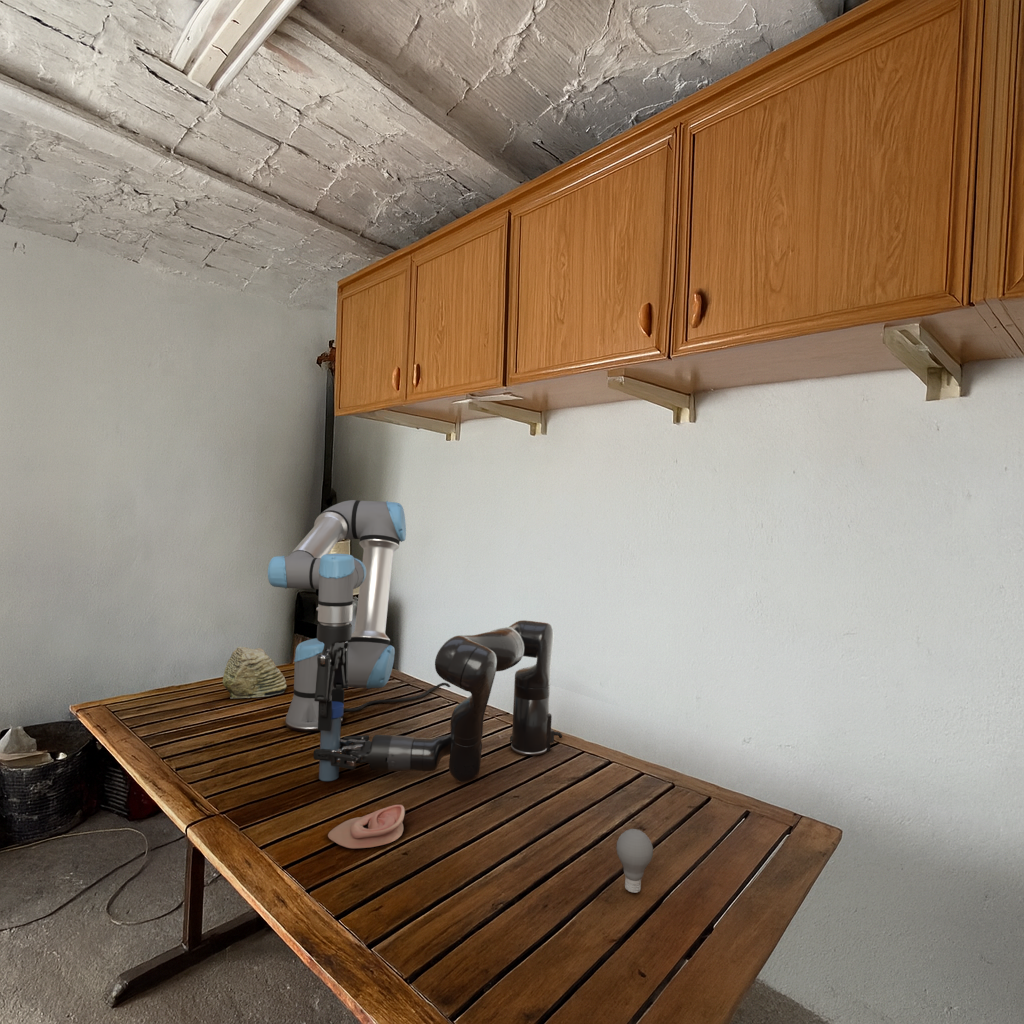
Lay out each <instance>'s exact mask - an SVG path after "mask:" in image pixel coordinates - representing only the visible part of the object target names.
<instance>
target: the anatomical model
mask: <svg viewBox="0 0 1024 1024" xmlns="http://www.w3.org/2000/svg"><path fill="white" fill-rule="evenodd" d="M405 814H406V809H405V806H404V805H403V804H393V805H389V806H386V807H383V808H381V809H377V810H375V811H373V812H371V813H368V814H366V815H363V816H360V817H358V816H357V817H354V818H350V819H347V820H345V821H343V822H341V823H340V824H338V825H336V826H334V827H333V828H332V829H331V830H330V831H329V832H328V834H327V838H328V839H329V840H331V842H333V843H336V845H339V846H341V847H344V848H347V849H366V848H367V849H368V848H374V847H379V846H384V845H388V844H390V843H392V842H394V841H397V840H399V838H401V836H402V835H403V832H404V829H405V828H404V823H403V822H404V820H405Z"/></svg>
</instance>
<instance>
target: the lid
mask: <svg viewBox="0 0 1024 1024" xmlns="http://www.w3.org/2000/svg"><path fill="white" fill-rule="evenodd" d="M344 708H345V703H344V704H343V703H341V702H336V701H332V717H331V719H333V718H339V717H341V716H343V717H344V713H345V712H344ZM343 712H344V713H343Z"/></svg>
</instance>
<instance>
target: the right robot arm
mask: <svg viewBox="0 0 1024 1024" xmlns="http://www.w3.org/2000/svg"><path fill="white" fill-rule="evenodd" d="M554 640H555V631H554V627H553V625H552V624H551V623H549V622H545V621H544V622H543V621H536V620H535V621H534V620H527V619H526V620H525V619H524V620H518V621H515V622H514V623H512V624H511V625H509V626H505V627H500V628H496V629H493V630H490V631H487V632H482V633H478V634H465V635H463V634H460V635H455V636H452V637H450V638H449V639H448V640H446V641H445V642H444V643H443V644H442V645H441V646H440V648H439V650H438V651H437V654H436V656H435V660H434V668H435V669H434V670H435V672H436V674H437V676H439V678H441V679H442V680H443V681H444V682H446V683H448V684H451V685H453V686H455V687H457V688H459V689H461V690H463V691H465V692H469V693H470V694H471V695H470V696H469V697H467V698H465V699H464V700H462V701H461V702H459V703H458V704H457V705H456V707H454V709H453V711H452V712H451V716H450V725H449V726H450V729H449V733H450V734H446V735H442V736H437V737H431V738H428V737H413V736H407V735H393V734H392V735H391V734H390V735H389V734H375V735H373V737H372V738H371V740H370V735H368V734H367V735H348V736H343V738H340V749H333V750H331V749H320V748H315V749H314V750H313V760H315V761H319V760H330V762H331V766H336V767H339V768H342V769H347V770H355V769H356V767H357V765H358V764H360V765H361V764H368V765H369V766H368V767H369V769H370V770H371V771H380V772H381V771H382V772H434V771H436V770H437V768H438V767H439V765H440V762H441V761H442V759H443V757H446V756H448V755H449V761H448V771H449V773H450V775H451V777H452V778H453V779H454V780H456V781H458V782H461V783H469V782H472V781H473V780H475V779H476V778H477V777H478V776H479V774H480V772H481V766H482V765H481V763H482V753H483V752H482V750H483V741H482V739H483V736H484V735H483V734H484V719H485V714H486V709H487V707H488V703H489V699H490V696H491V693H492V688H493V685H494V681H495V678H496V672H497V673H498V672H503V671H506V670H509V669H510V668H513V667H515V666H516V665H518V664H519V663H520V662H521V660H522V659H523V657H527V658H532V659H536V663H534V665H531V666H527V667H523V668H519V669H518V670H516V671H515V673H514V682H513V683H514V685H513V707H512V709H513V710H512V731H511V735H510V737H509V743H511V745H510V749H511V751H513V752H514V753H516V754H518V755H522V756H528V757H532V756H533V757H535V756H536V757H537V756H542V755H544V754H546V753H547V752H551V744H554V743H555V736H558V738H559V739H562V738H563V733H562V732H560V731H555V730H554V729H552V719H553V718H552V716H553V715H552V713H551V712H550V693H551V692H550V690H551V676H552V675H551V674H552V662H553V652H554V642H555V641H554ZM339 753H340V754H339Z"/></svg>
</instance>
